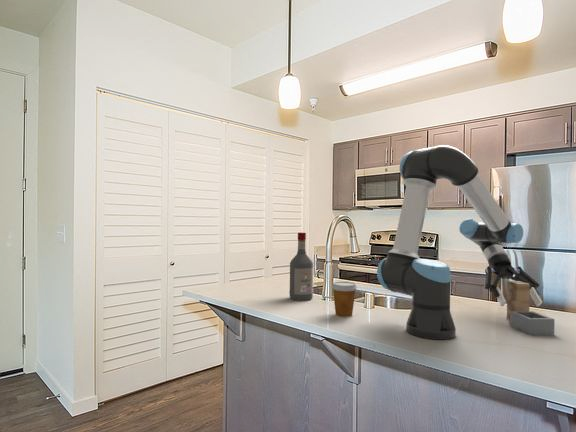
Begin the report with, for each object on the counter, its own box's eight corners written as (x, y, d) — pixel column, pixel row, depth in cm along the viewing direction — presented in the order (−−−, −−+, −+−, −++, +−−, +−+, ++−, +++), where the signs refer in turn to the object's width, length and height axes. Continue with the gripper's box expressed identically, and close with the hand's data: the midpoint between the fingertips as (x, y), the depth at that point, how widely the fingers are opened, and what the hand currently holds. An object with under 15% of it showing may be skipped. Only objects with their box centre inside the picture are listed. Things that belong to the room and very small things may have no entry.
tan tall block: (506, 317, 142) (507, 280, 142) (518, 317, 143) (518, 281, 143) (517, 322, 136) (517, 283, 136) (529, 322, 137) (529, 283, 137)
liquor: (314, 300, 169) (315, 233, 168) (295, 301, 165) (296, 233, 165) (305, 295, 177) (306, 232, 177) (287, 297, 173) (288, 232, 173)
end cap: (509, 325, 132) (510, 311, 132) (532, 325, 133) (533, 311, 133) (529, 334, 122) (529, 319, 122) (554, 334, 123) (554, 319, 123)
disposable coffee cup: (361, 314, 144) (361, 283, 144) (347, 319, 137) (347, 286, 137) (340, 310, 151) (341, 280, 151) (326, 314, 144) (326, 283, 144)
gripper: (522, 264, 156) (548, 309, 141) (463, 264, 155) (484, 309, 140) (531, 252, 151) (560, 298, 136) (471, 252, 149) (493, 298, 134)
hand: (521, 304), depth 138 cm, fingers open, 13 cm apart
